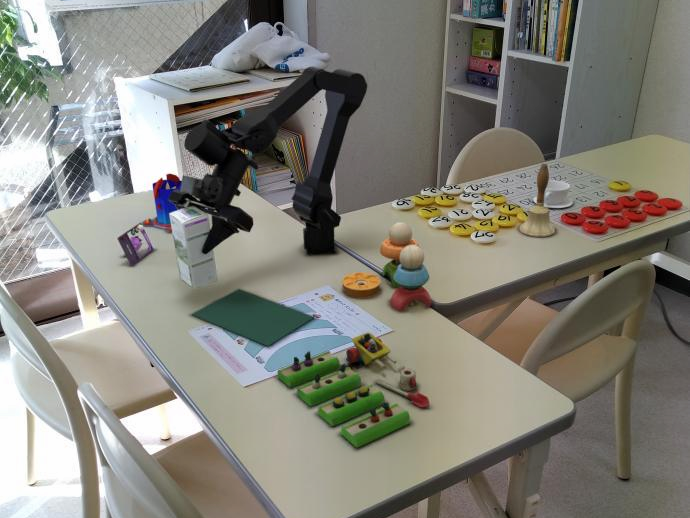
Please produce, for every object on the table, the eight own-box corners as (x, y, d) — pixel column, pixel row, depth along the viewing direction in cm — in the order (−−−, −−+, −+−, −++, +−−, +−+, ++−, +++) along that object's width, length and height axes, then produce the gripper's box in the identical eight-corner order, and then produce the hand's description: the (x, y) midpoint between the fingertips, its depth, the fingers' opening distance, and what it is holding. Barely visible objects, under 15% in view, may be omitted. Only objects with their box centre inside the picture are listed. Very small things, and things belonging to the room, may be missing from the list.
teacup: (542, 193, 198) (544, 176, 196) (578, 200, 193) (581, 183, 191) (526, 204, 192) (528, 187, 189) (563, 212, 186) (566, 194, 184)
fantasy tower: (174, 234, 178) (167, 185, 172) (138, 224, 184) (130, 177, 178) (206, 217, 187) (201, 171, 181) (171, 209, 192) (165, 163, 186)
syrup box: (218, 281, 149) (210, 213, 141) (192, 290, 146) (182, 221, 138) (204, 270, 152) (195, 204, 144) (178, 279, 149) (167, 212, 141)
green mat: (191, 315, 144) (191, 314, 144) (239, 290, 153) (238, 289, 153) (268, 347, 134) (268, 345, 134) (314, 318, 143) (314, 317, 142)
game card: (120, 237, 160) (143, 221, 168) (102, 241, 163) (125, 226, 170) (134, 265, 163) (156, 248, 170) (116, 269, 165) (138, 253, 173)
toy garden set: (276, 378, 125) (274, 355, 123) (368, 342, 135) (367, 320, 132) (356, 448, 109) (356, 423, 107) (454, 403, 118) (456, 379, 116)
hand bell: (516, 234, 175) (523, 168, 167) (522, 221, 182) (530, 157, 173) (552, 239, 173) (561, 172, 164) (557, 226, 179) (566, 161, 171)
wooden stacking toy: (333, 283, 155) (332, 227, 148) (407, 268, 161) (409, 213, 154) (370, 322, 141) (370, 262, 134) (449, 304, 146) (453, 245, 140)
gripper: (167, 149, 144) (132, 220, 143) (236, 166, 134) (199, 243, 133) (203, 177, 154) (170, 244, 152) (269, 195, 144) (235, 267, 142)
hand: (191, 249), depth 145 cm, fingers closed on syrup box, 6 cm apart
